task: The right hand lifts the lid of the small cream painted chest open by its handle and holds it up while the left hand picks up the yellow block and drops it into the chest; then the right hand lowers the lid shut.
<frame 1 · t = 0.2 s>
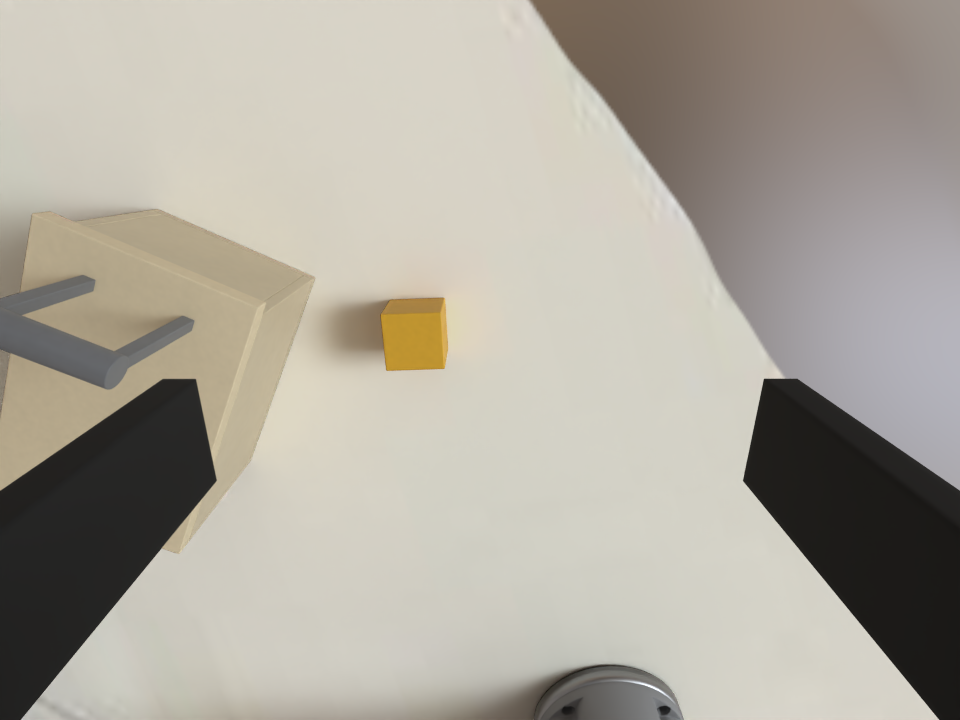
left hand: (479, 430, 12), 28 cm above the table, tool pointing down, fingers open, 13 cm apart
chest: (208, 345, 41), on the table
block: (419, 324, 41), on the table
lid: (75, 431, 28), point 15 cm above the table, hinge at -0.1°
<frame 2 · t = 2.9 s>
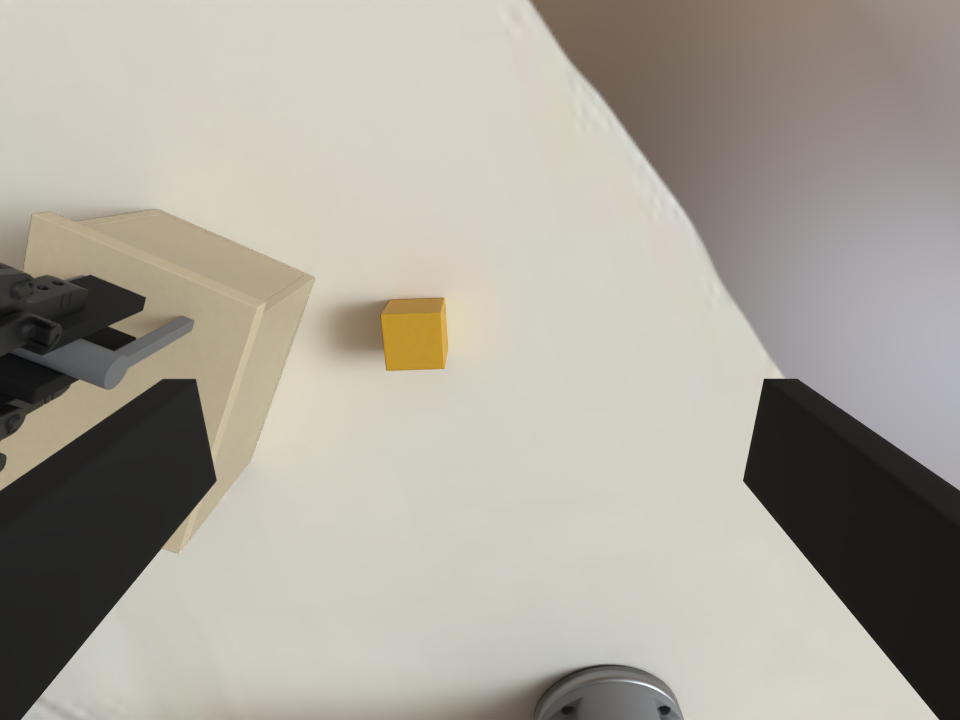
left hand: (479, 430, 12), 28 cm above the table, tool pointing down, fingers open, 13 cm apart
chest: (208, 345, 41), on the table
block: (419, 324, 41), on the table
lid: (75, 431, 28), point 15 cm above the table, hinge at -0.1°, touching right hand
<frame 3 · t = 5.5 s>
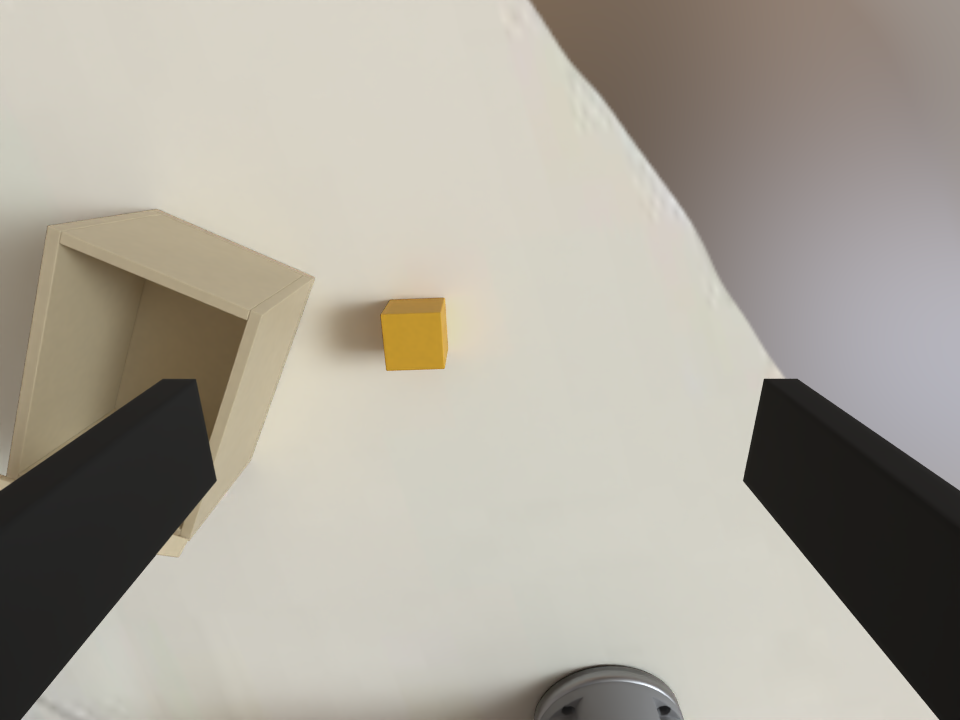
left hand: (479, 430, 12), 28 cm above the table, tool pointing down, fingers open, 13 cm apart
chest: (208, 345, 41), on the table
block: (419, 324, 41), on the table
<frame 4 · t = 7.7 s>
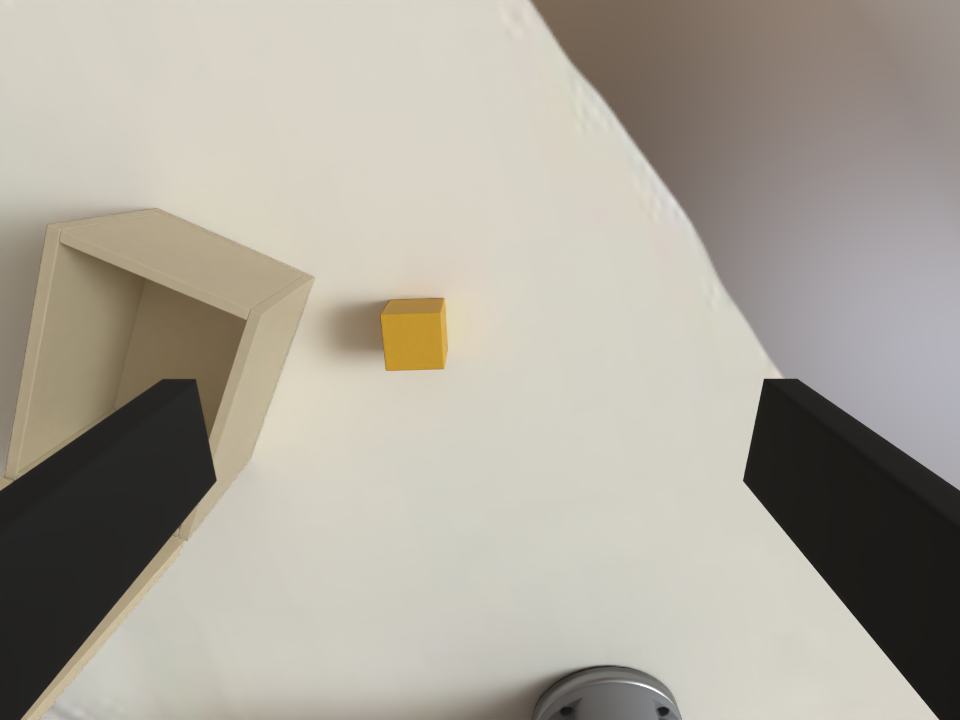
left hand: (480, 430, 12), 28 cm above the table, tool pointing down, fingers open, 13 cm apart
chest: (207, 345, 41), on the table
block: (419, 325, 41), on the table
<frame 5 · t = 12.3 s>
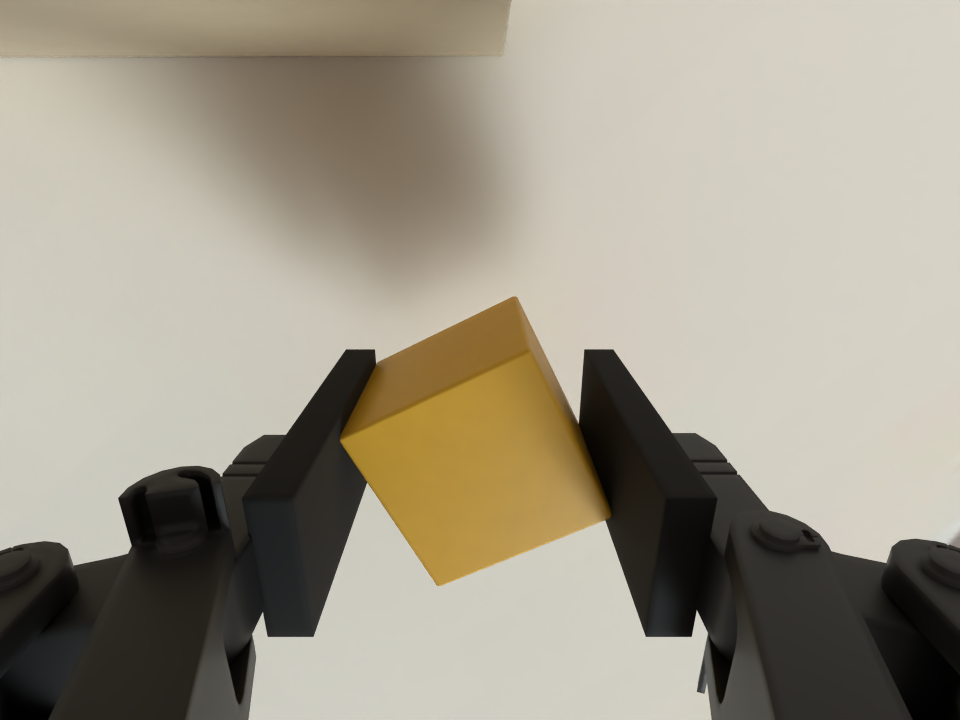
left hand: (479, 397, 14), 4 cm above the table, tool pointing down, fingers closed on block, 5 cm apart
block: (479, 394, 15), point 4 cm above the table, touching left hand
when the left hand's fingers open (17 cm above the table, at t = 15.3 s): block drops 16 cm, resting on chest.
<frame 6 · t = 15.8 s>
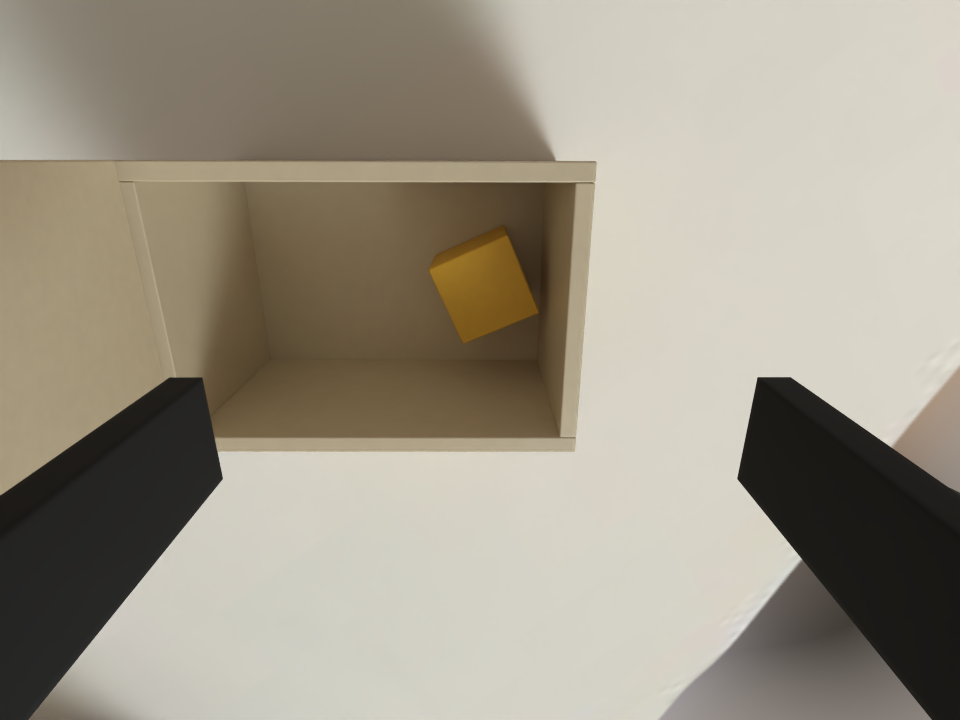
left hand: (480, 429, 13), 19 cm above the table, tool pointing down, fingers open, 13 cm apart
chest: (401, 270, 30), on the table, touching block
block: (483, 274, 30), point 1 cm above the table, touching chest
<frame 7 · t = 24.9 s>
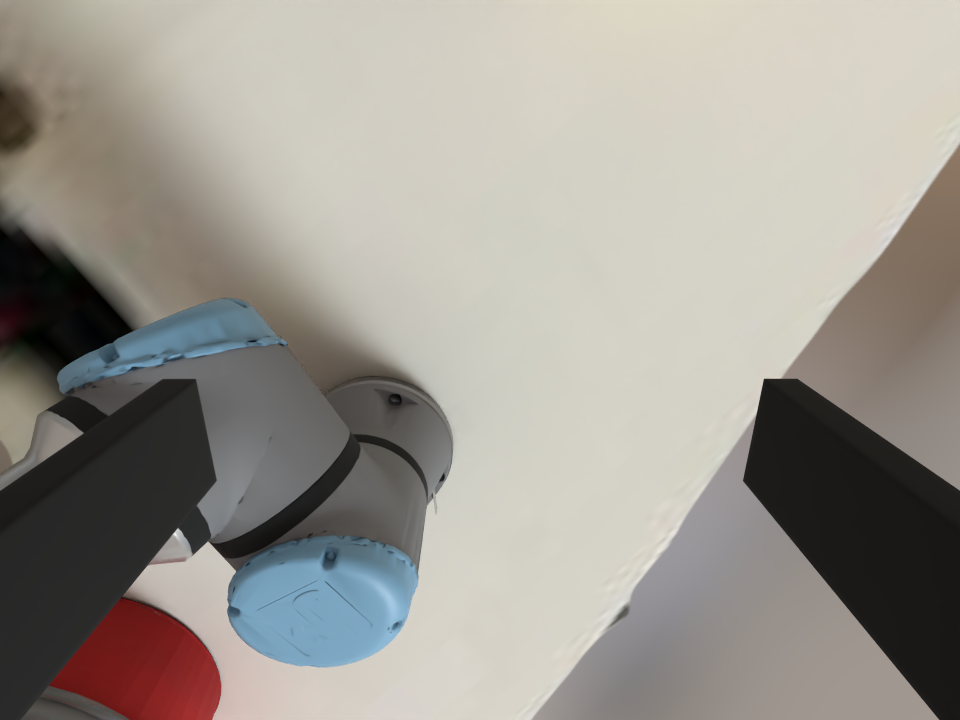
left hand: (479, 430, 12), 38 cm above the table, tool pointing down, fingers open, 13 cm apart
bucket 2: (121, 676, 67), on the table
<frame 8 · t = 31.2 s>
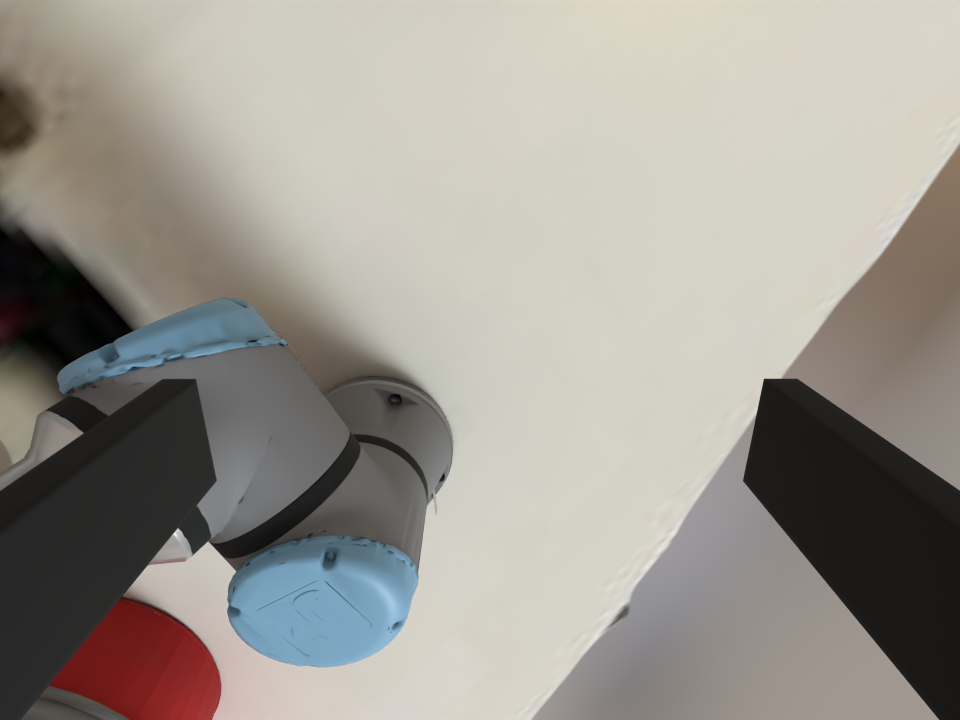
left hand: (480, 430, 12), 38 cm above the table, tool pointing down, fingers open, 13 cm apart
bucket 2: (121, 676, 67), on the table
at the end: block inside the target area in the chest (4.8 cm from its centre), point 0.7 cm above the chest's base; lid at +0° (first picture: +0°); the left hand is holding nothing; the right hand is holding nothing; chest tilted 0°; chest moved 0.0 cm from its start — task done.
